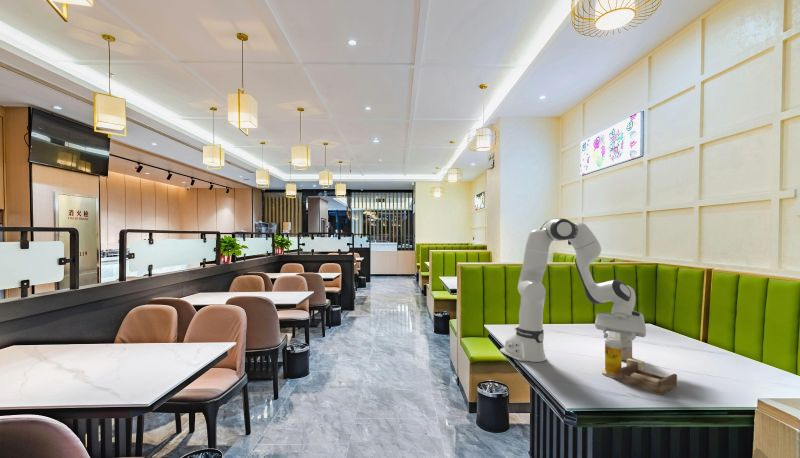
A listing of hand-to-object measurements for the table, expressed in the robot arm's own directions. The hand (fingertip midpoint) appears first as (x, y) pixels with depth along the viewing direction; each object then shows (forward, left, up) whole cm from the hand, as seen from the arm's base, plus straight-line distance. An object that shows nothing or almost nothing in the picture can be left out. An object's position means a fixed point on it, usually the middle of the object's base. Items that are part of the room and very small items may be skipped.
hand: (617, 339), depth 156 cm
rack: (+15, -7, -13) cm, 21 cm away
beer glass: (+3, -9, -13) cm, 16 cm away
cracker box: (-8, +21, -14) cm, 26 cm away
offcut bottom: (+15, -10, -14) cm, 23 cm away
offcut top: (+3, +11, -12) cm, 17 cm away
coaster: (+2, -9, -13) cm, 16 cm away
